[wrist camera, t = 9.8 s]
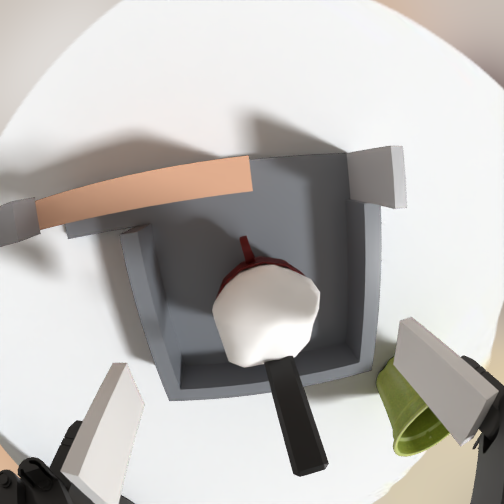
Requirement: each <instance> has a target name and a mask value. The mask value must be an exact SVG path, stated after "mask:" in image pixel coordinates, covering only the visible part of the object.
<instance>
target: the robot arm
mask: <svg viewBox="0 0 504 504" xmlns="http://www.w3.org/2000/svg"><path fill="white" fill-rule="evenodd" d="M393 365H394V366H395V367H396V368H397V370H398V371H399V372H400V373H401V374H402V375H403V377H404V378H405V379H406V380H407V381H408V382H409V384H410V385H411V386H412V387H413V388H414V390H415V391H416V392H417V393H418V394H419V396H420V397H421V398H422V399H423V400H424V402H425V403H426V404H427V405H428V407H429V408H430V409H431V410H432V411H433V413H434V414H435V415H436V416H437V418H438V419H439V420H440V421H441V422H442V424H443V425H444V426H445V427H446V429H447V430H448V431H449V432H450V434H451V435H452V436H453V438H454V439H455V440H456V441H457V442H458V444H459V445H460V446H462V445H463V444H465V443H467V442H468V441H470V440H471V439H472V438H473V437H474V436H475V434H476V432H477V431H478V429H479V430H480V431H481V432H482V433H481V435H480V436H479V438H478V439H477V441H476V443H475V444H474V446H473V449H475V448H476V446H477V445H478V443H479V448H478V449H479V451H478V452H479V453H478V462H477V470H476V476H475V482H474V488H473V494H472V498H471V503H470V504H504V386H503V385H502V384H501V383H500V382H499V381H498V380H497V379H495V378H494V377H493V376H492V375H491V374H490V373H489V372H486V370H485V369H484V368H483V367H482V366H481V367H480V365H479V364H478V363H477V362H476V361H474V360H473V359H471V358H469V357H466V356H462V357H460V356H459V355H457V354H456V353H455V352H454V351H453V350H451V349H450V348H449V347H448V346H447V345H446V344H444V343H443V342H442V341H441V340H439V339H438V338H437V337H436V336H435V335H433V334H432V333H431V332H430V331H429V330H427V329H426V328H425V327H424V326H422V325H421V324H420V323H419V322H417V321H416V320H415V319H414V318H412V317H410V318H407V319H404V320H400V324H399V331H398V338H397V345H396V351H395V357H394V362H393ZM144 406H145V403H144V401H143V399H142V397H141V395H140V393H139V390H138V388H137V386H136V383H135V381H134V379H133V376H132V374H131V372H130V369H129V367H128V364H127V363H113V364H112V366H111V368H110V370H109V371H108V373H107V375H106V377H105V379H104V381H103V383H102V385H101V386H100V388H99V390H98V392H97V394H96V396H95V398H94V400H93V402H92V404H91V406H90V408H89V410H88V412H87V414H86V416H85V418H84V420H83V421H78V420H76V421H75V422H74V423H73V424H72V425H71V426H70V427H69V428H68V430H67V432H66V434H65V436H64V437H65V438H63V440H62V442H61V445H60V447H59V449H58V451H57V453H56V455H55V457H54V459H53V461H52V464H51V466H50V468H48V467H47V466H46V465H45V463H44V462H43V461H41V460H40V459H39V458H35V457H31V458H27V459H25V460H24V461H23V462H22V463H21V464H20V465H19V468H18V475H19V476H20V477H21V478H19V477H18V476H16V474H14V473H13V472H12V471H10V470H2V471H1V472H0V504H134V503H133V502H131V501H130V500H128V499H126V498H124V497H122V496H121V491H122V487H123V483H124V479H125V475H126V471H127V467H128V463H129V459H130V455H131V452H132V448H133V444H134V441H135V437H136V434H137V430H138V427H139V423H140V420H141V416H142V413H143V410H144Z"/></svg>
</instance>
